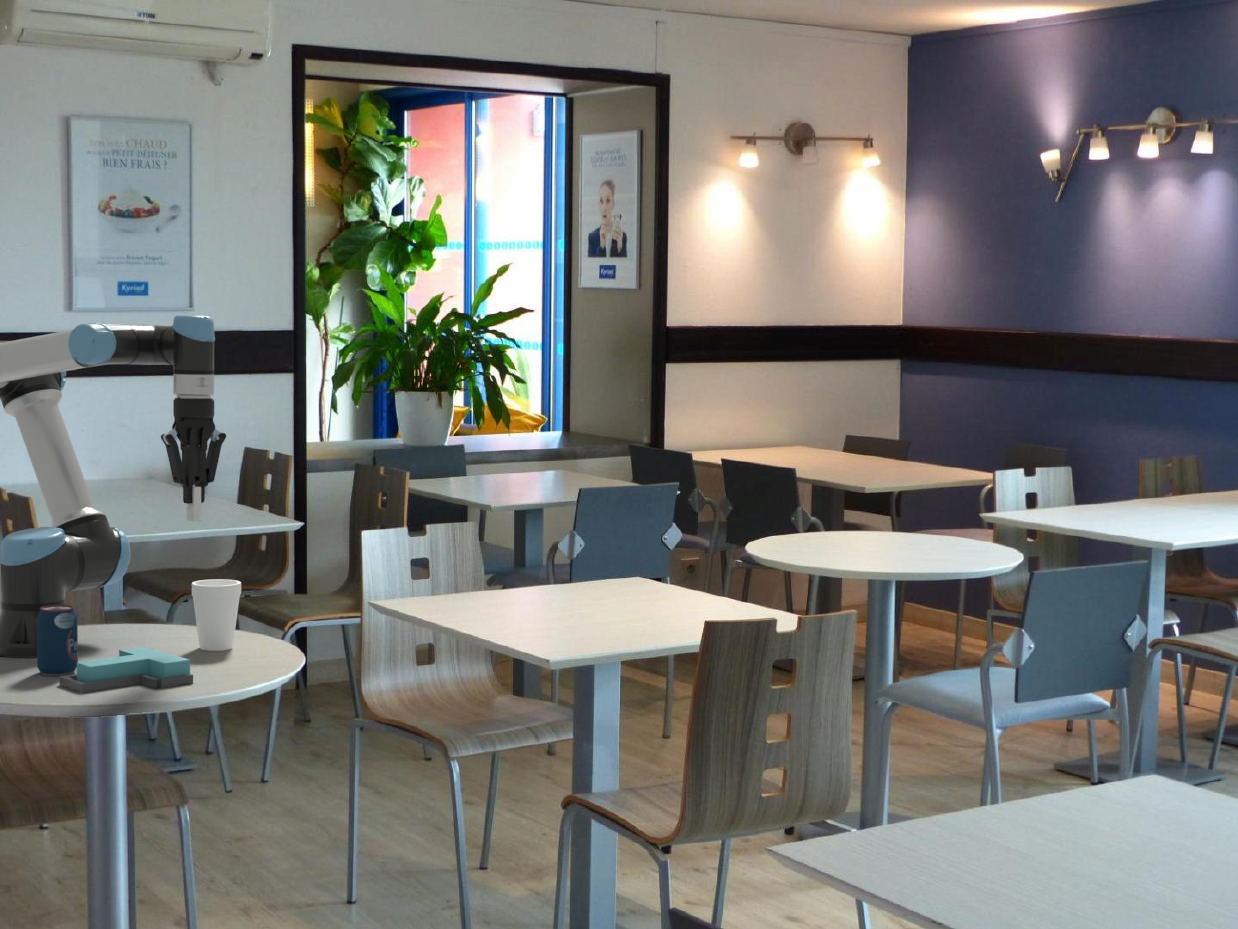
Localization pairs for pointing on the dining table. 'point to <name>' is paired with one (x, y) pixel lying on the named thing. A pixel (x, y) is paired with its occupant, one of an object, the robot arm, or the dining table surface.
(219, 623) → the foam cup
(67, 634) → the soda can
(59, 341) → the robot arm
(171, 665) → the t block
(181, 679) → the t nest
